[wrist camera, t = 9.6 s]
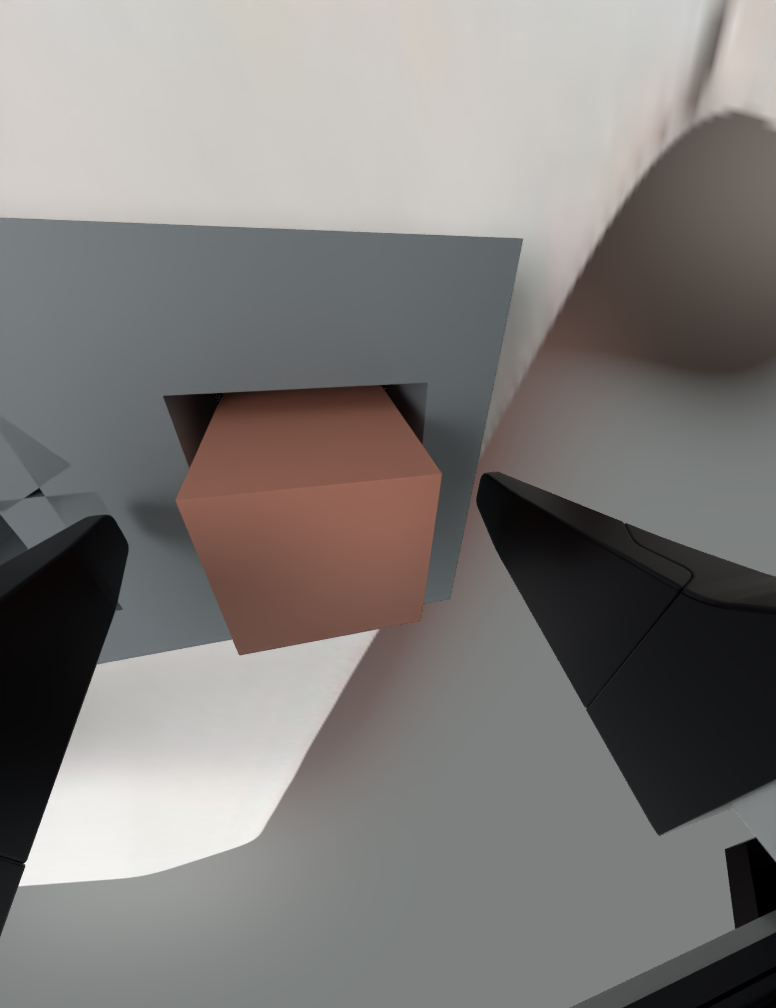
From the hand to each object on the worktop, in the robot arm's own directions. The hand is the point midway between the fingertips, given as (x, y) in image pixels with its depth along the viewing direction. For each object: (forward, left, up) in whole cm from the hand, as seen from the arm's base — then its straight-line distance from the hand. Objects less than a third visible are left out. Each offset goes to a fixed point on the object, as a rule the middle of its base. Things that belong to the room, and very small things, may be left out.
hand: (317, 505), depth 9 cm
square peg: (0, 0, -4) cm, 5 cm away
